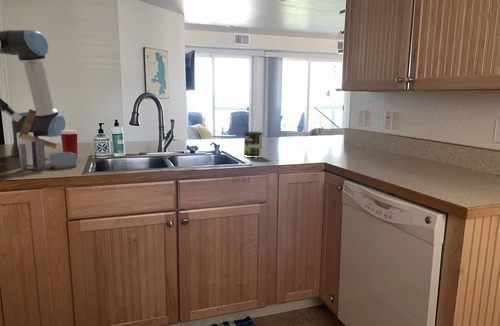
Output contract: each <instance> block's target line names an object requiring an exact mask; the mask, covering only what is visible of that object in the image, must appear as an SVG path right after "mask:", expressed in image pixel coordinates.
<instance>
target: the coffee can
mask: <svg viewBox="0 0 500 326" xmlns="http://www.w3.org/2000/svg"><path fill="white" fill-rule="evenodd" d="M243 145H244V147H243V149H244V150H243V153H244V154H243V156H244V155H247V156H260V155H262V152H263V150H262V148H263V132H261V131H245V132H244V144H243Z"/></svg>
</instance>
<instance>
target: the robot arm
mask: <svg viewBox="0 0 500 326" xmlns="http://www.w3.org/2000/svg"><path fill="white" fill-rule="evenodd" d="M48 43H49V42H48V40H47V39H46V37H45V36H44V34H42V32H40V31H38V30H30V29H24V30H23V29H21V30H20V29H19V30H13V29H11V30H10V29H9V30H1V31H0V54H1V55H9V56H17V58H18V61H20V63H21V62H22V63H23V66H24V70H25V75H26V78H27V83H28V86H29V89H30V92H31V93H30V94H31V98H32V102H33V105H34V109H35V110H34V111H37V112H36V115H35V117H34V120H33V123H32V125H31V128H30V131H29V132H32V133H33V135H34V137H36V138H39V137H44V138H45V137H48V138H53V137H54V138H55V137H59V136H60V137H61V134H60V133H61V131H62V130H66V129H65V128H66V119H65V117H64V116H63V115H61V114H59V111H58V109H57V108H55V107H54V103H53V99H52V95H51V91H50V86H49V82H48V78H47V74H46V69H45V65H44V61H45V60H46V55H47V54H48V52H49V44H48ZM0 110H1V112H3V113H5V114H7V115H8V116H9V117H11V126H12V134H13V135H12V136H13V137H12V138H13V143H12V146H11V150H10V156H11V157H14V158H15V157H17V158H20V156H19V149H18V144H17V133H20V132H21V130H22V127H23V124H24V122H25V119H26V117H27V114H28V111H27V112H17V111H16V110H14V109H13V107H10V105H9V104H8V103H7V102H6V101H4V100H3V99H2V98H1V97H0Z"/></svg>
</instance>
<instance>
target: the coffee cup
mask: <svg viewBox="0 0 500 326" xmlns="http://www.w3.org/2000/svg"><path fill="white" fill-rule="evenodd" d="M60 134H61V135H60V138H61V144H62V145H61V146H62V152H72V153H75V154H76V161H77V160H78V134H79V132H78V130H76V129H64V130H62V131H61V133H60Z"/></svg>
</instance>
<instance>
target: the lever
mask: <svg viewBox="0 0 500 326" xmlns="http://www.w3.org/2000/svg"><path fill="white" fill-rule="evenodd" d="M27 112H28V114H27V117H26V119H25V122H24V124H23V127H22V130H21V132H20V134H19V138H22V139H25V140H28V141H32V142H35V139H40V137H38V138H36V137H33V136H30V135H28V133H29V131H30V128H31V125H32V123H33V120H34V117H35V115H36V112H37V111H35V110H33V109H31V108H30V109H28V111H27ZM35 143H36V142H35ZM57 145H58V144H57V143H55V142H51V141H48V140H45V139H44V147H49V148H52V149H56V148H57Z"/></svg>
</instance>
